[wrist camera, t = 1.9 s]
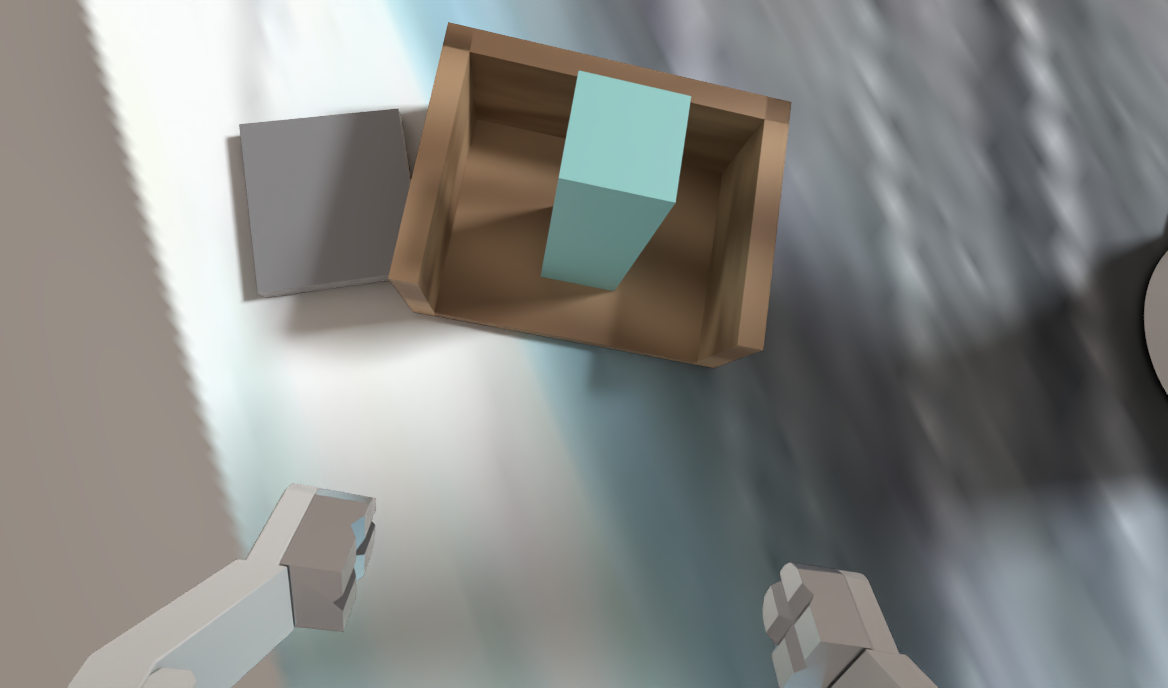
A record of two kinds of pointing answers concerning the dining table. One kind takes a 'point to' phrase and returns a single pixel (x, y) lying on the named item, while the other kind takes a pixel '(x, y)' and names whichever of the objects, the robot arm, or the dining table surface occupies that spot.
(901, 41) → the dining table surface
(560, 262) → the block
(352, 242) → the coaster
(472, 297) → the crate
